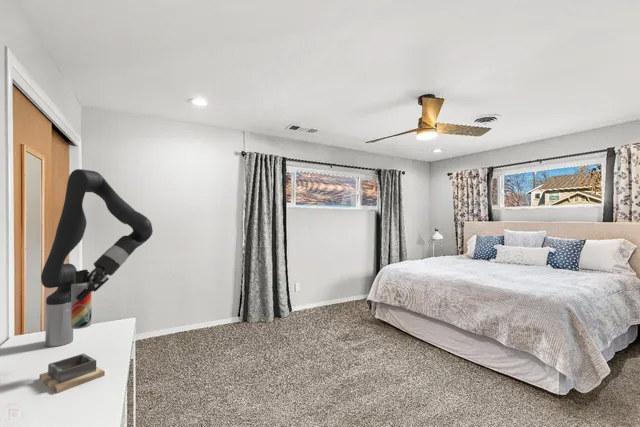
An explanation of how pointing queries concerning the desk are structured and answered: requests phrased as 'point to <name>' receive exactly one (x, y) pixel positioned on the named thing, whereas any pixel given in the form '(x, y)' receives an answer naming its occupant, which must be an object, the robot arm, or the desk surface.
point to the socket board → (71, 372)
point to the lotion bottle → (80, 309)
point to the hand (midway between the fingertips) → (74, 298)
